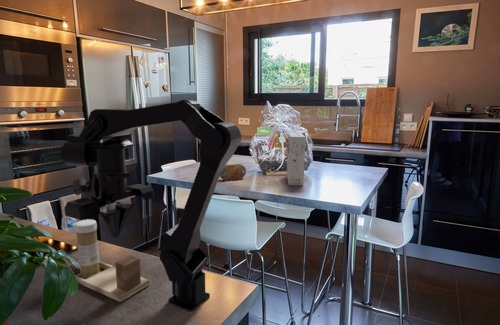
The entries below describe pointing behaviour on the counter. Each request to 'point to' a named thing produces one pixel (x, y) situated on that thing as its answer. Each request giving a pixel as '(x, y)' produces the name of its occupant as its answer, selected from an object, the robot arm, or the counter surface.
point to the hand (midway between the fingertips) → (115, 237)
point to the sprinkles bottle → (87, 248)
